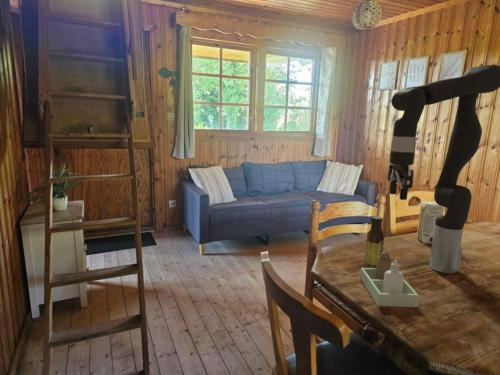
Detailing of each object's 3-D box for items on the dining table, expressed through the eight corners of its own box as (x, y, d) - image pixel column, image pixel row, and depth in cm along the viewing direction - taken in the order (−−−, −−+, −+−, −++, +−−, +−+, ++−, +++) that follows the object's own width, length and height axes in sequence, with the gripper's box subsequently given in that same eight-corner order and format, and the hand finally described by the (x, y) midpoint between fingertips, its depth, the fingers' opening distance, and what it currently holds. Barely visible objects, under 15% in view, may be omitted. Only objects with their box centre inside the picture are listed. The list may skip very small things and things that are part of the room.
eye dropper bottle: (383, 289, 107) (386, 256, 104) (401, 294, 104) (406, 259, 102) (381, 296, 103) (385, 260, 101) (400, 300, 100) (405, 265, 98)
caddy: (393, 278, 117) (397, 247, 114) (417, 307, 99) (422, 270, 96) (359, 278, 117) (362, 246, 114) (377, 305, 99) (381, 269, 97)
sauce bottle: (382, 271, 123) (388, 220, 119) (365, 269, 124) (370, 219, 120) (379, 263, 129) (384, 215, 125) (363, 262, 130) (367, 214, 126)
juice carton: (441, 244, 151) (446, 205, 147) (422, 244, 151) (427, 204, 147) (432, 238, 158) (437, 201, 154) (414, 238, 158) (419, 200, 154)
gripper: (424, 152, 102) (418, 202, 105) (404, 148, 116) (399, 192, 119) (400, 151, 102) (395, 201, 106) (383, 148, 116) (379, 192, 119)
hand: (397, 196), depth 112 cm, fingers open, 8 cm apart
